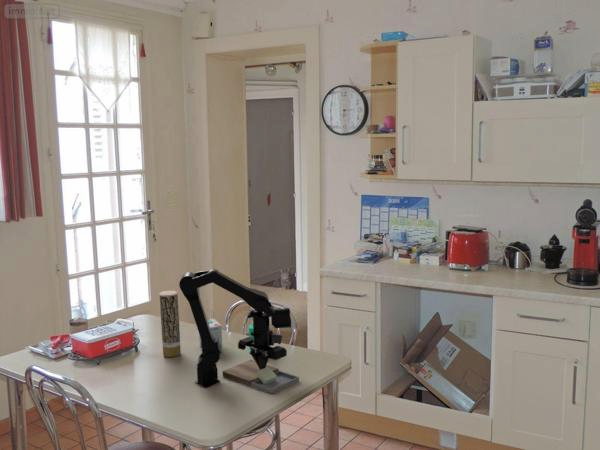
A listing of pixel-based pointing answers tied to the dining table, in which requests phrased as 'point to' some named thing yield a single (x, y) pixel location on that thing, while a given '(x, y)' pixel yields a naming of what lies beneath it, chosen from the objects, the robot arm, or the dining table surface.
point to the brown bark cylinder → (170, 323)
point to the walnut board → (245, 372)
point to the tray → (276, 382)
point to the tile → (266, 375)
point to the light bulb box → (215, 330)
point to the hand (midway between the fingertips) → (262, 371)
